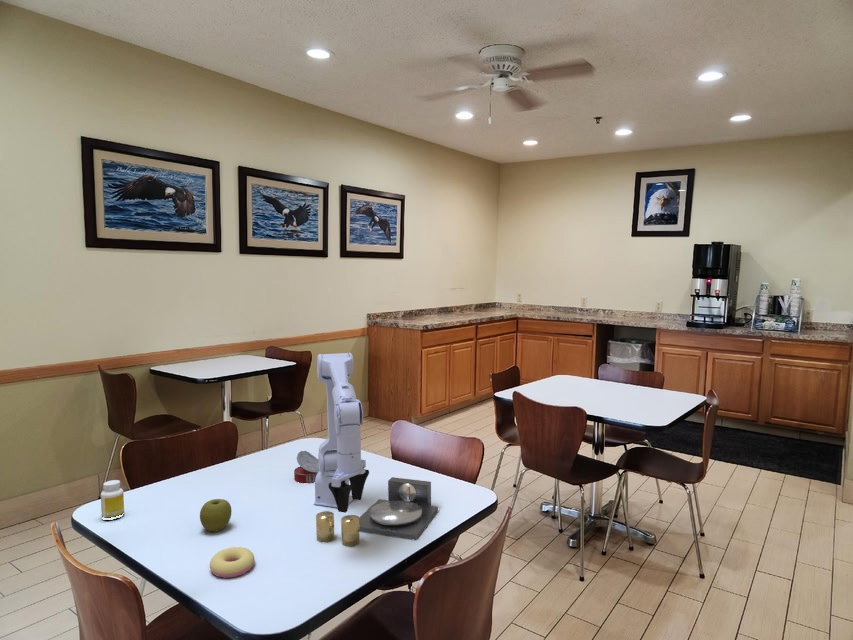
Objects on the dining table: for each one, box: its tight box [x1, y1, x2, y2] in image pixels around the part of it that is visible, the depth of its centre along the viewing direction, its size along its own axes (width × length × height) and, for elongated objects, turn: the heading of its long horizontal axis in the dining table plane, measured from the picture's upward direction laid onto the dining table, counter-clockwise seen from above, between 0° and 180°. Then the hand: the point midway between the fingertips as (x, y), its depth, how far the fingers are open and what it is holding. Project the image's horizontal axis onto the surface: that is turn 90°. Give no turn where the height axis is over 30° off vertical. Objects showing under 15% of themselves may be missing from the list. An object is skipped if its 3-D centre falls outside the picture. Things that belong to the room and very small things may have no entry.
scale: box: [358, 476, 439, 541], centre depth 148 cm, size 18×21×7 cm
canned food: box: [293, 450, 319, 484], centre depth 179 cm, size 11×10×10 cm
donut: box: [209, 546, 255, 579], centre depth 123 cm, size 10×5×9 cm
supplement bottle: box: [100, 479, 125, 518], centre depth 149 cm, size 5×5×10 cm
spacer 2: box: [340, 514, 361, 548], centre depth 134 cm, size 4×4×6 cm
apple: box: [199, 498, 233, 533], centre depth 142 cm, size 8×8×7 cm
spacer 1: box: [315, 510, 335, 543], centre depth 136 cm, size 4×4×6 cm
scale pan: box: [370, 501, 422, 525], centre depth 146 cm, size 14×14×1 cm
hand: (350, 505), depth 133 cm, fingers open, 7 cm apart
